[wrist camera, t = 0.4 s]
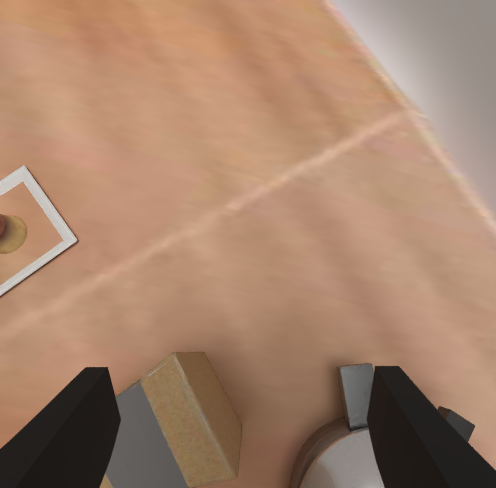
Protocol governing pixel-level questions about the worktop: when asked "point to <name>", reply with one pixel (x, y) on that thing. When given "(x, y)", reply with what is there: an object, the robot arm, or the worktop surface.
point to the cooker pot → (355, 408)
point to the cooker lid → (360, 458)
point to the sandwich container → (175, 428)
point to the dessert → (15, 231)
